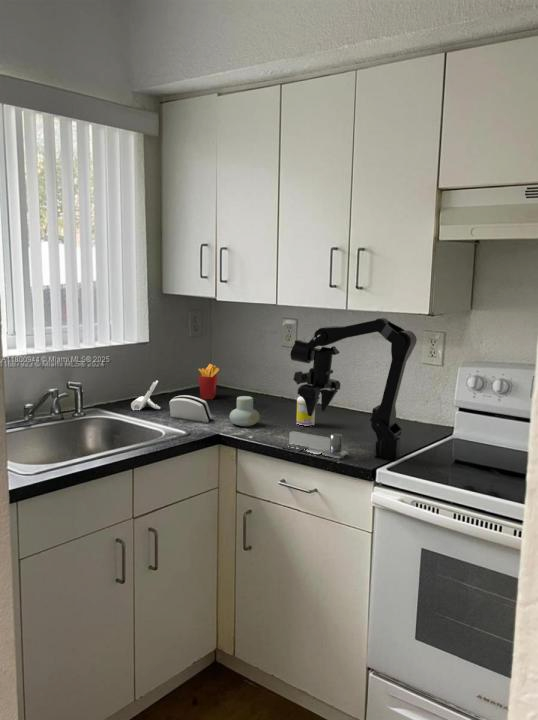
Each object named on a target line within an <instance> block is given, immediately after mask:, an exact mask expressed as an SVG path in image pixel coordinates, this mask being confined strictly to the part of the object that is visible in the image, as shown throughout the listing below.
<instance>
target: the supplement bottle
mask: <svg viewBox="0 0 538 720" xmlns="http://www.w3.org/2000/svg"><path fill="white" fill-rule="evenodd" d="M315 418H316V409H315V410H314V412H313V414H312V416H308V413H307V408H306V403H305V400H304V399H303V397H301V396H300V395H299V396H298V397H297V399H296V425H297V424H299V425H304V426H309V425H313V426H315V422H316V419H315ZM299 425H298V426H299Z"/></svg>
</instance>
